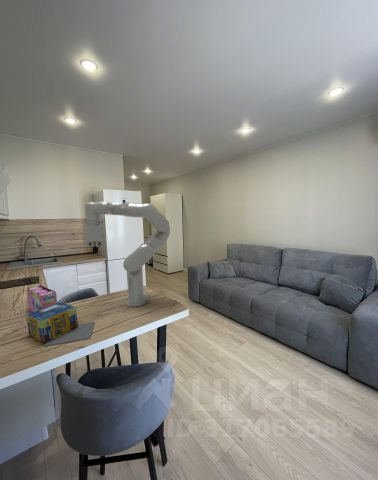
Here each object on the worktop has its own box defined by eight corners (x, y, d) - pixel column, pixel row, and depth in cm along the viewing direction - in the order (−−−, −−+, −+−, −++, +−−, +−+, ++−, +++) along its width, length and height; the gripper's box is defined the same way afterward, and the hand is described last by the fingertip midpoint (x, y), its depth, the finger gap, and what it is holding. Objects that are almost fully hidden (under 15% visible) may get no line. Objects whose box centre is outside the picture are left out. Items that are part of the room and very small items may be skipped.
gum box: (28, 309, 130) (25, 288, 128) (42, 305, 136) (40, 284, 134) (43, 319, 115) (40, 295, 114) (58, 314, 121) (56, 291, 120)
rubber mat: (95, 322, 110) (95, 321, 110) (90, 338, 95) (90, 337, 95) (56, 328, 105) (56, 327, 105) (44, 346, 90) (44, 345, 90)
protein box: (78, 326, 105) (44, 344, 92) (62, 320, 113) (28, 335, 100) (75, 306, 103) (40, 321, 90) (59, 301, 111) (24, 314, 98)
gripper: (107, 222, 132) (109, 251, 134) (80, 223, 128) (83, 253, 130) (106, 222, 125) (108, 253, 127) (78, 223, 121) (81, 255, 123)
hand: (95, 253), depth 128 cm, fingers closed
